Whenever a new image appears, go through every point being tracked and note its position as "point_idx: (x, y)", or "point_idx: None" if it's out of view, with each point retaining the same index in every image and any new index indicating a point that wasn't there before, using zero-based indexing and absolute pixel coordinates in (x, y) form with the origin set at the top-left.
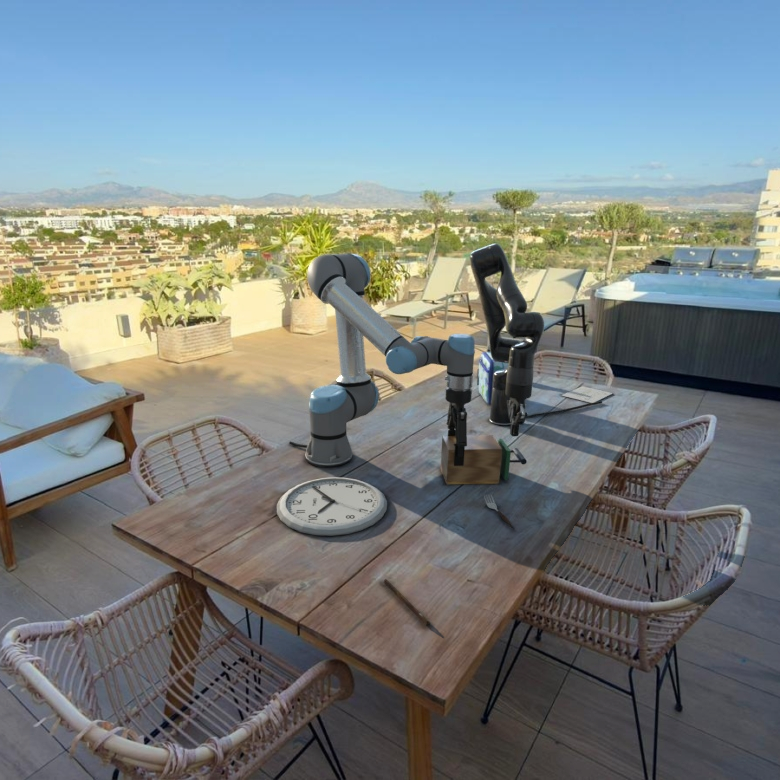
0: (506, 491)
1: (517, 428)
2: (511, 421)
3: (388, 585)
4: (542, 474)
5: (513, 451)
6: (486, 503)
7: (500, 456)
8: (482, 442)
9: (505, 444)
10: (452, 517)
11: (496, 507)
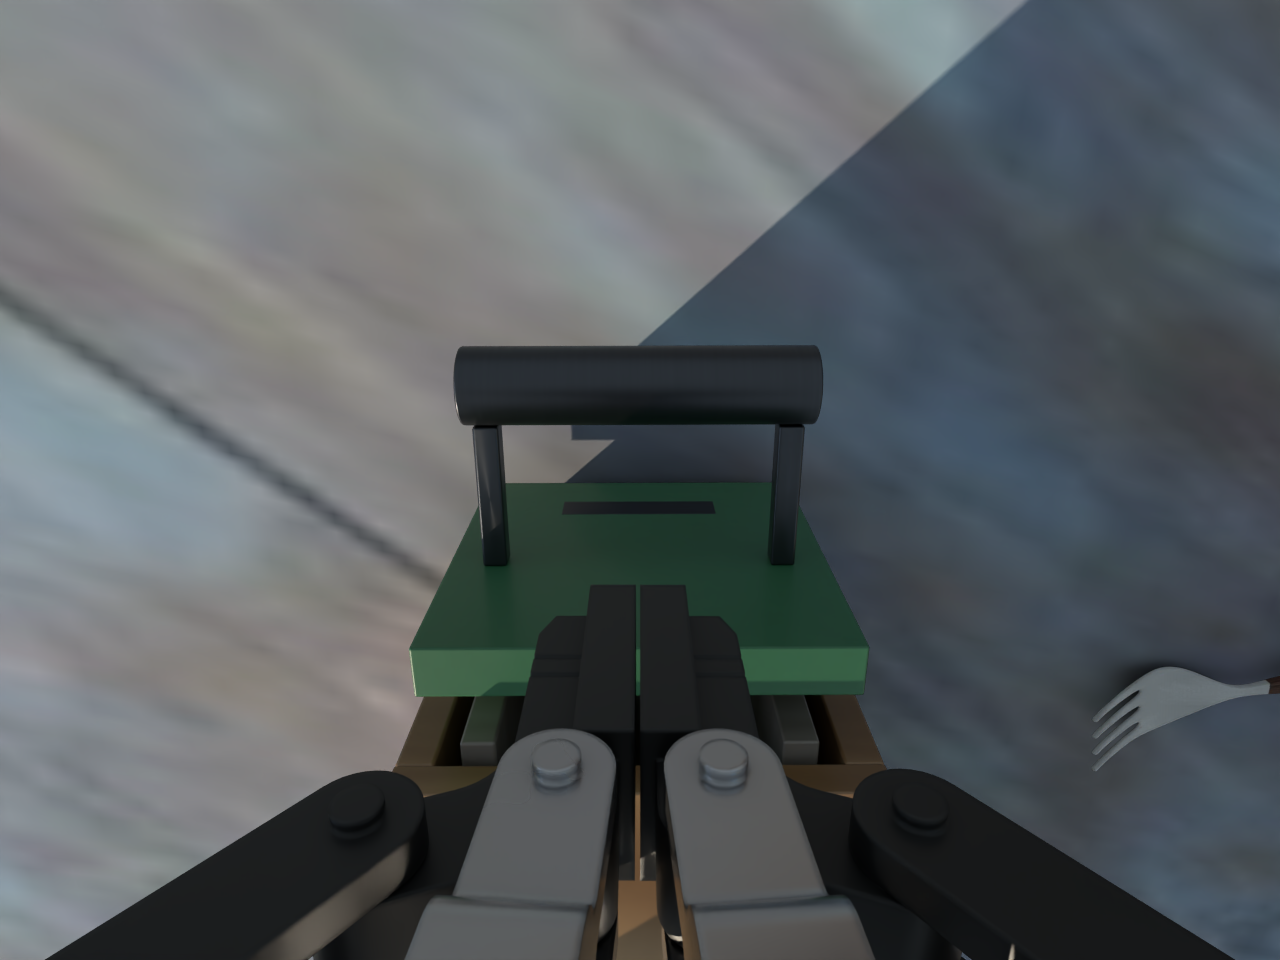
0: (942, 528)
1: (752, 734)
2: (615, 938)
3: None
4: (634, 40)
5: (497, 425)
6: (1136, 735)
7: (864, 728)
8: (654, 954)
9: (636, 658)
10: (1200, 926)
11: (1201, 679)
